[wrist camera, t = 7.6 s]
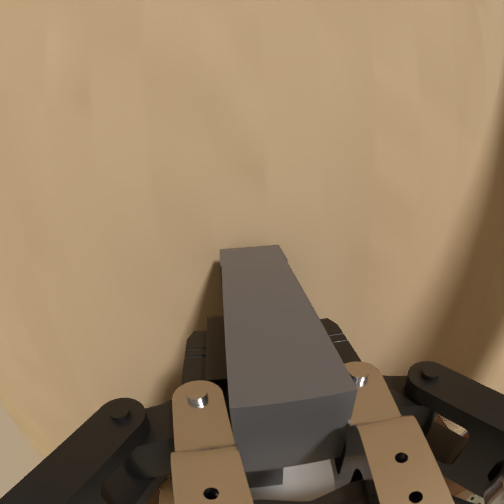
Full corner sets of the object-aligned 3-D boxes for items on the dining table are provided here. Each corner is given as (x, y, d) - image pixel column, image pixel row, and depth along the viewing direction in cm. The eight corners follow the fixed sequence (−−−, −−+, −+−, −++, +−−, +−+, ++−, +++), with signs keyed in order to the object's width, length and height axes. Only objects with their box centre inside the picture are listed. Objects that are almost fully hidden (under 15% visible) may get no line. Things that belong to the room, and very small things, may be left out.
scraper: (359, 238, 14) (492, 347, 6) (326, 466, 20) (356, 557, 12) (133, 256, 13) (46, 403, 5) (196, 480, 19) (198, 578, 11)
